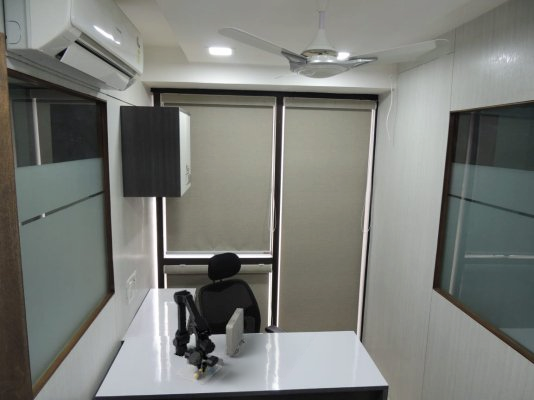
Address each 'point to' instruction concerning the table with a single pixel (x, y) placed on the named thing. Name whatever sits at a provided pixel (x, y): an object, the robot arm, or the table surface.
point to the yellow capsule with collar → (199, 373)
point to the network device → (234, 333)
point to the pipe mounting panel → (190, 370)
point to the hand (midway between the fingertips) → (201, 372)
